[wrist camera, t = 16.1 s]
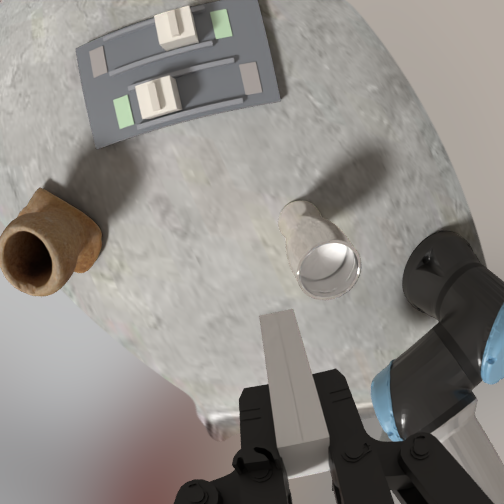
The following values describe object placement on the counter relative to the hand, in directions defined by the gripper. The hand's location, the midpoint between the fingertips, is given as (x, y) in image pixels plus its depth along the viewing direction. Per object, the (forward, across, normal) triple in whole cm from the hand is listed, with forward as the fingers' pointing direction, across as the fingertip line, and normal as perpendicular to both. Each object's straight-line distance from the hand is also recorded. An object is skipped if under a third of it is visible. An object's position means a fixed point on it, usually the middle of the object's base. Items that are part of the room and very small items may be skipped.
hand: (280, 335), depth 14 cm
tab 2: (+27, +8, -14) cm, 32 cm away
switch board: (+29, +6, -18) cm, 35 cm away
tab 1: (+27, +4, -22) cm, 35 cm away
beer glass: (+30, -6, +6) cm, 31 cm away
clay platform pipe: (+30, +28, -2) cm, 41 cm away
